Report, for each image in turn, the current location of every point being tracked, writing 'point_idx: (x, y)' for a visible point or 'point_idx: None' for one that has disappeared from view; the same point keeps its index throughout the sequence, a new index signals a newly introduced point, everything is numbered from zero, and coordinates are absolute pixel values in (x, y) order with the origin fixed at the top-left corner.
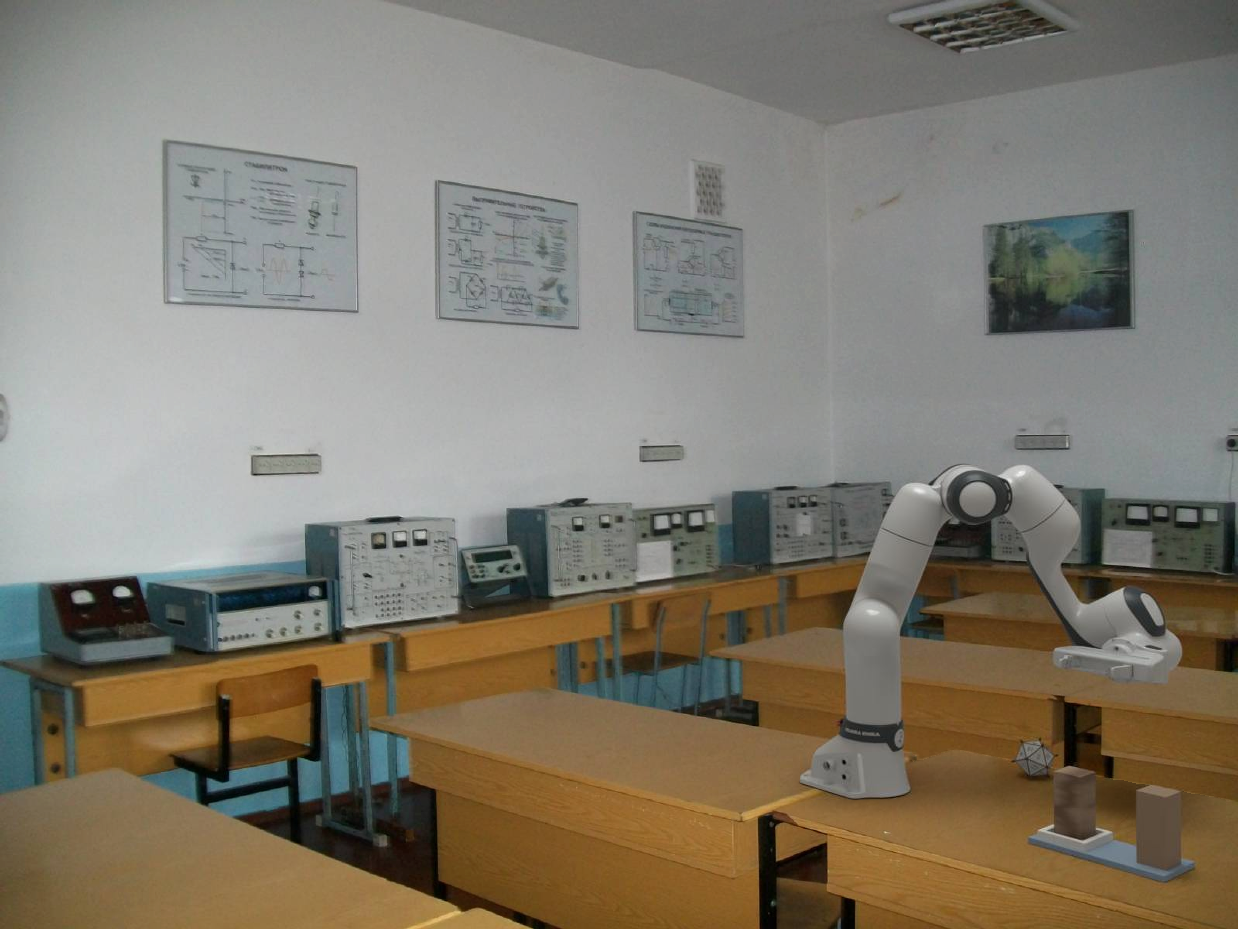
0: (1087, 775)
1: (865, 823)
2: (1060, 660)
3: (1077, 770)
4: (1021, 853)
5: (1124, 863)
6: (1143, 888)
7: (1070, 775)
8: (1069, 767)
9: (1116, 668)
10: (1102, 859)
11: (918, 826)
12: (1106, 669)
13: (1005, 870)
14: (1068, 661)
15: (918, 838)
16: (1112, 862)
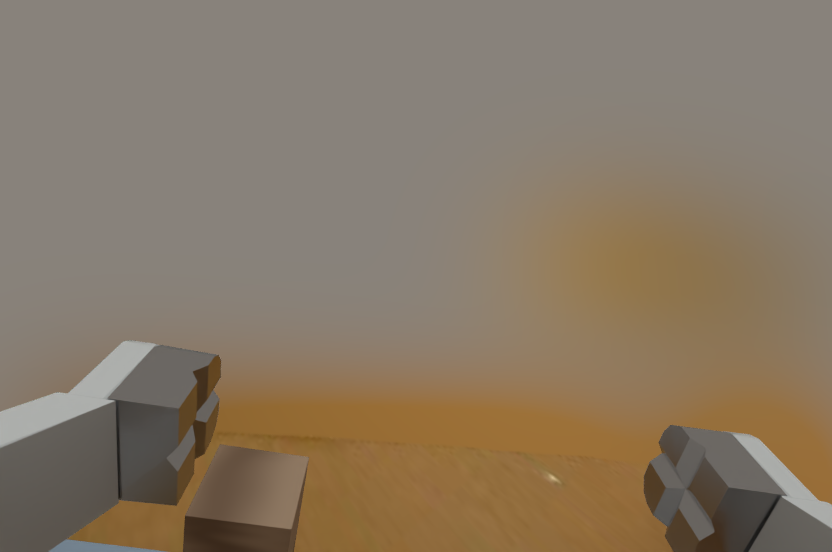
0: (205, 477)
1: (607, 492)
2: (729, 432)
3: (248, 497)
4: (321, 519)
5: (79, 548)
6: None
7: (252, 450)
8: (283, 512)
9: (98, 368)
10: (138, 549)
11: (553, 532)
12: (215, 364)
13: (305, 440)
14: (697, 465)
15: (498, 482)
16: (111, 546)
